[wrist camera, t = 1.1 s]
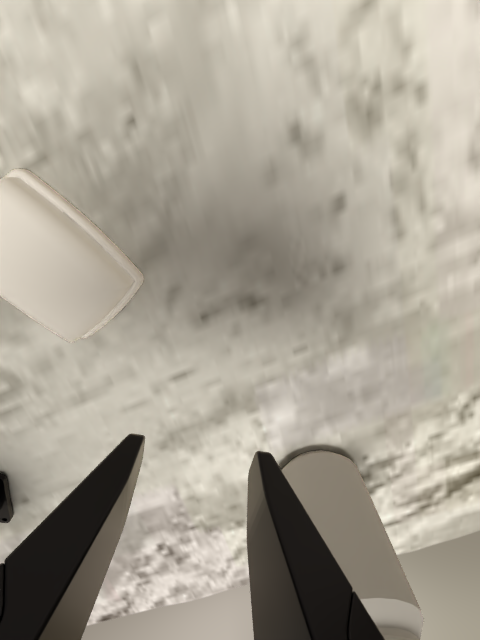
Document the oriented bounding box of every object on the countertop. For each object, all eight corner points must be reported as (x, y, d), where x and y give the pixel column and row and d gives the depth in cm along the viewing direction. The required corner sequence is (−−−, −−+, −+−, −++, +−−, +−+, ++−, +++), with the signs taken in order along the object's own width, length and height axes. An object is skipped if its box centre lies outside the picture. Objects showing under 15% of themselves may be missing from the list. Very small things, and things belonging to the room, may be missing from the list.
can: (266, 453, 25) (293, 655, 15) (352, 436, 25) (447, 633, 14) (282, 504, 29) (314, 702, 18) (358, 490, 28) (439, 686, 17)
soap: (-37, 244, 17) (-85, 255, 15) (24, 157, 16) (-17, 152, 13) (90, 340, 20) (69, 363, 18) (154, 276, 19) (141, 292, 16)
